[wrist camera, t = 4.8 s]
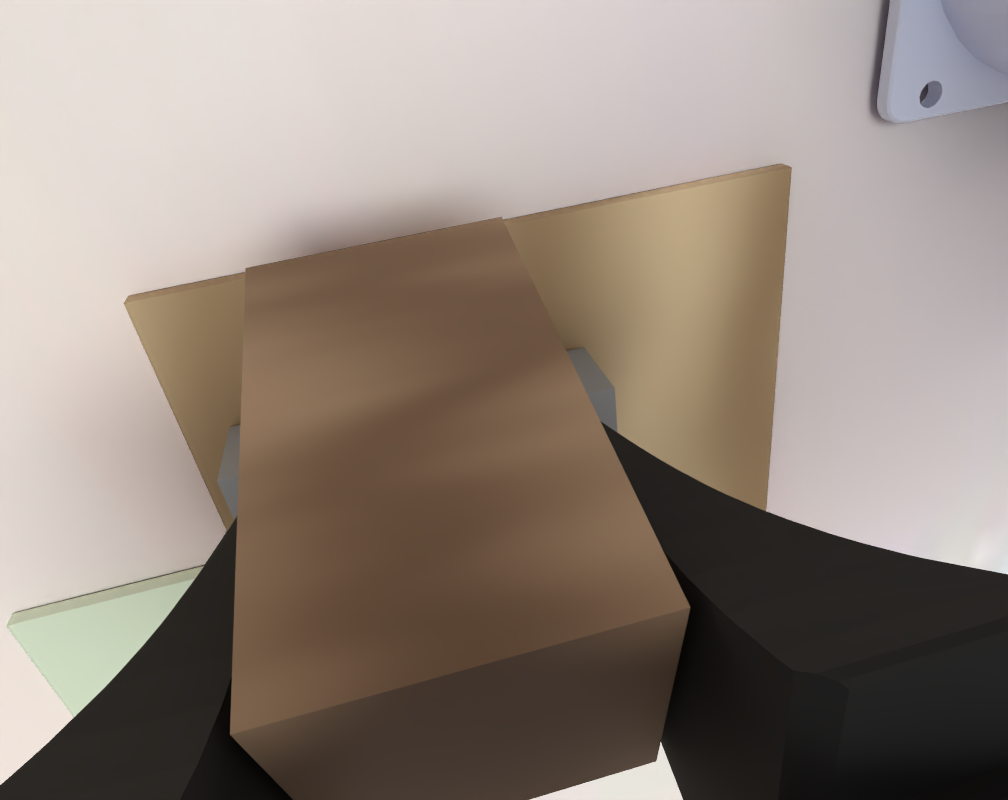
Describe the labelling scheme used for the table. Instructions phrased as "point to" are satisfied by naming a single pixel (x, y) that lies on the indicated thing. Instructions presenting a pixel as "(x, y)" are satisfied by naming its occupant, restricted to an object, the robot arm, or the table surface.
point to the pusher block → (436, 537)
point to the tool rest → (95, 633)
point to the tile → (583, 363)
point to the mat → (578, 324)
